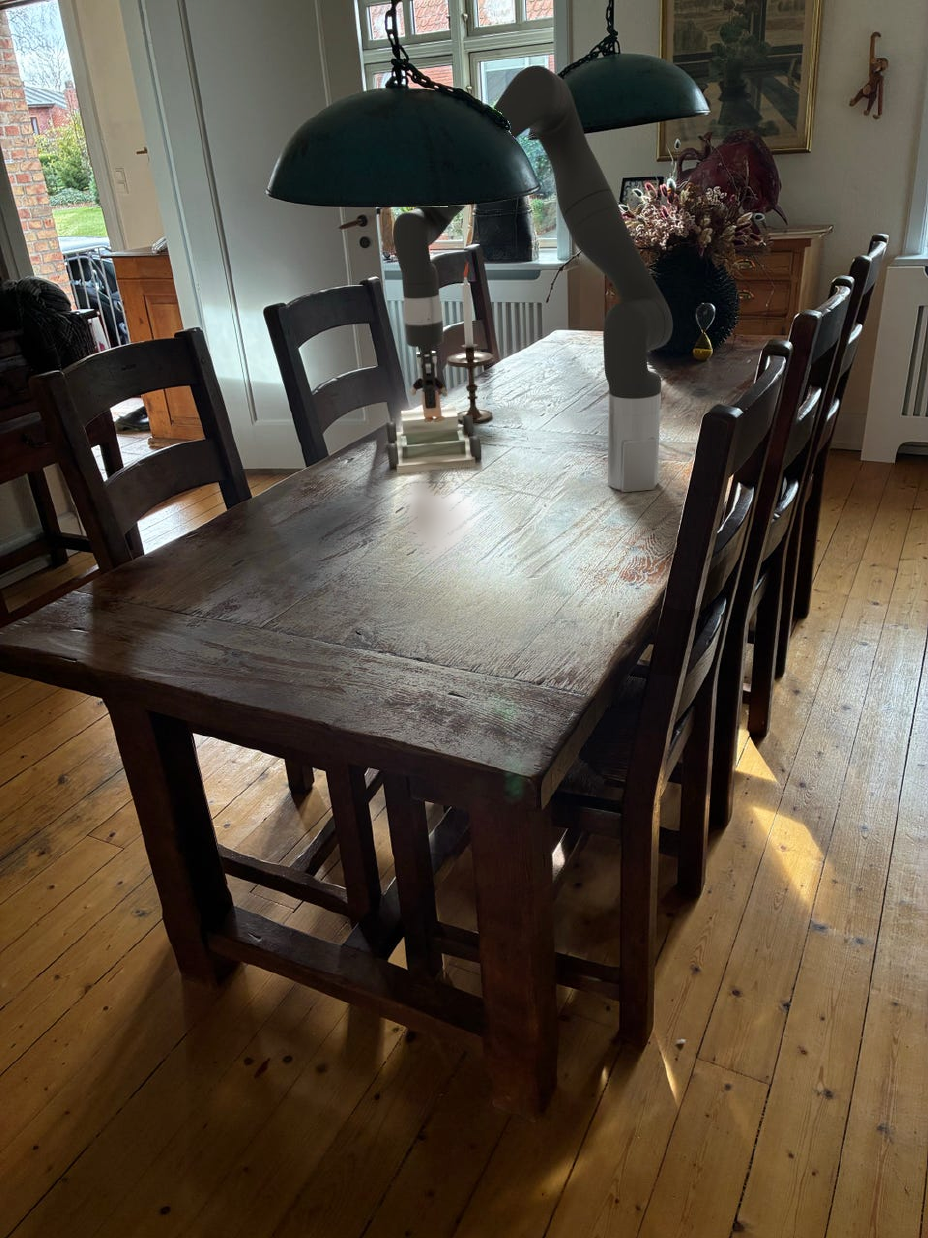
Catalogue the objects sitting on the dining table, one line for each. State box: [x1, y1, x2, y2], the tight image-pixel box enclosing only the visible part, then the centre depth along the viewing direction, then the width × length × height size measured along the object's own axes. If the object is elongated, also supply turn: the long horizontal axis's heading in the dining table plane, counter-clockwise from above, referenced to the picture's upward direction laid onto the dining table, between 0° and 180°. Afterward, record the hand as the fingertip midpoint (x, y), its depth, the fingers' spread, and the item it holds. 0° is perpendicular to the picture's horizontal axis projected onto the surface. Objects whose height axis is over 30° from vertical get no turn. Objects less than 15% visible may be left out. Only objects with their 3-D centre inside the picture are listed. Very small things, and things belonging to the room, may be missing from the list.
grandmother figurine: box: [410, 363, 448, 422], centre depth 188 cm, size 8×4×13 cm, turn 84°
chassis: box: [386, 406, 482, 474], centre depth 196 cm, size 24×19×6 cm
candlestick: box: [446, 261, 495, 425], centre depth 210 cm, size 11×11×35 cm
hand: (430, 405), depth 190 cm, fingers closed on grandmother figurine, 3 cm apart
